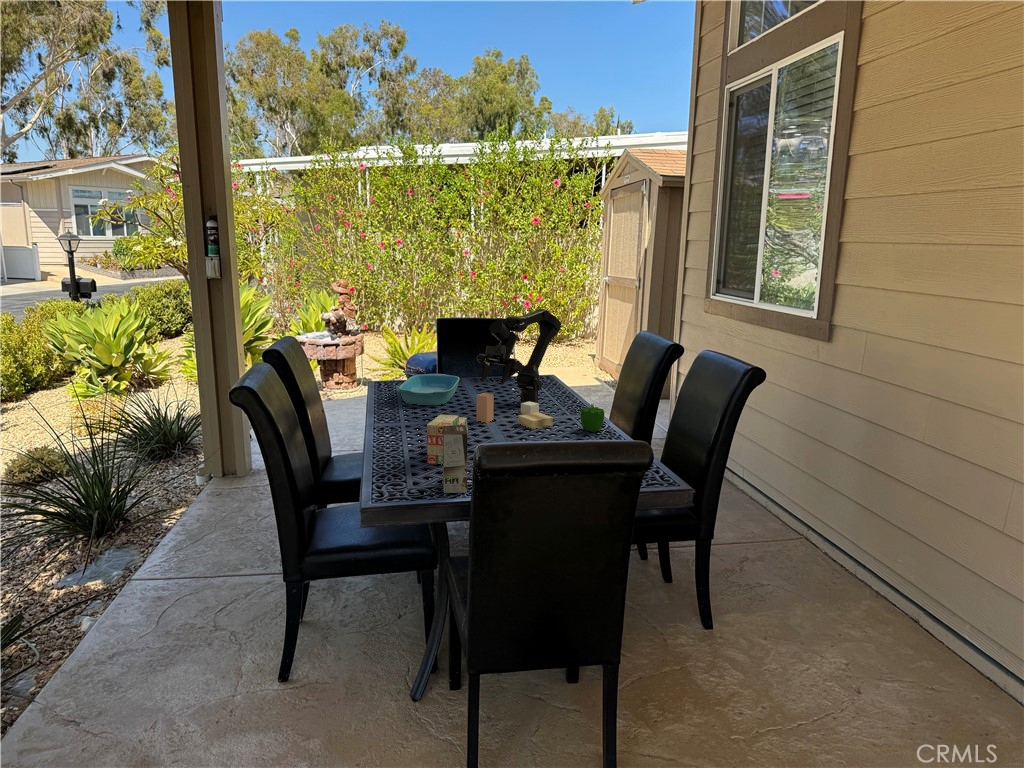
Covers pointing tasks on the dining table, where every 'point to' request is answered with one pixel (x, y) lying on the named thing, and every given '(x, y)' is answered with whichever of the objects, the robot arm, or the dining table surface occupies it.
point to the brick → (529, 407)
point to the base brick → (535, 420)
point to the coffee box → (455, 458)
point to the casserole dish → (429, 389)
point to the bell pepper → (592, 418)
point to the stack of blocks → (440, 436)
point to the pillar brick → (485, 407)
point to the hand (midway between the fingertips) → (491, 382)
